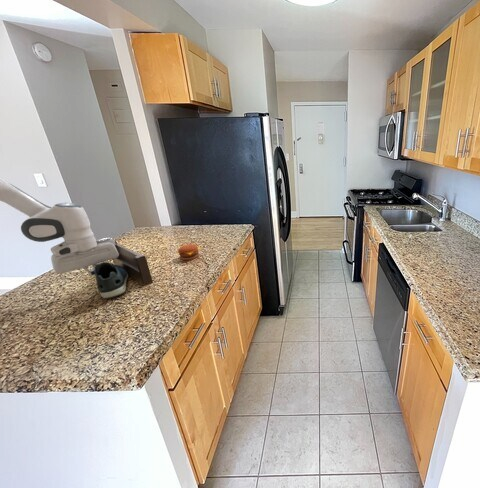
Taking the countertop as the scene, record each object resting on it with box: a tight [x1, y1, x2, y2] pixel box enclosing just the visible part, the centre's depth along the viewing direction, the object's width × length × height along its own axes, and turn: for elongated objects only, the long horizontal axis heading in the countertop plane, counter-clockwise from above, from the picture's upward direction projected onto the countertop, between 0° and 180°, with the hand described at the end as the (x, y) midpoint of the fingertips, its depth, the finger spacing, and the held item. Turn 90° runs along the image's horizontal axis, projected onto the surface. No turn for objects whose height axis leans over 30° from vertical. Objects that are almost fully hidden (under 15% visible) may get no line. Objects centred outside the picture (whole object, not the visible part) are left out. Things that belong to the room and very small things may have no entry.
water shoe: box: [94, 261, 129, 300], centre depth 110 cm, size 10×29×12 cm, turn 42°
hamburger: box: [175, 243, 202, 261], centre depth 136 cm, size 9×10×7 cm
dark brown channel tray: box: [112, 239, 154, 286], centre depth 118 cm, size 3×32×13 cm, turn 56°
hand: (93, 274), depth 108 cm, fingers closed
